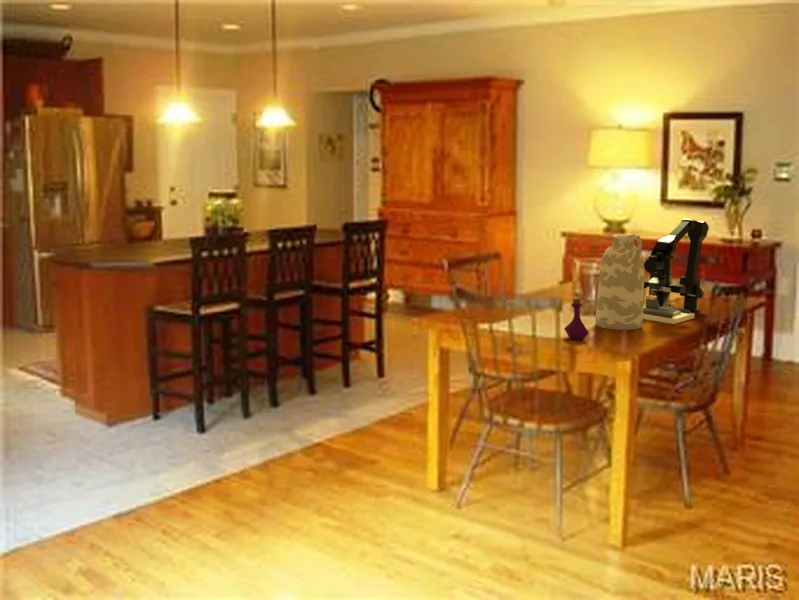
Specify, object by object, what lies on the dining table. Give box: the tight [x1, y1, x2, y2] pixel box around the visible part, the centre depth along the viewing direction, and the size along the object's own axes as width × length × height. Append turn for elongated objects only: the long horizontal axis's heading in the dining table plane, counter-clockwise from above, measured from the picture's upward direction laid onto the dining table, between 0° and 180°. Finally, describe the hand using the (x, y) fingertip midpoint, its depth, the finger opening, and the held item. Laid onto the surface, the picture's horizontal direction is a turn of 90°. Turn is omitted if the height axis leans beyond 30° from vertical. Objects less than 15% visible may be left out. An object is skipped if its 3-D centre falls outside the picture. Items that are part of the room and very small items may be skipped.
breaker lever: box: [644, 295, 659, 310], centre depth 392 cm, size 4×4×6 cm
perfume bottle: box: [563, 292, 589, 341], centre depth 345 cm, size 8×8×18 cm
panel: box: [643, 305, 696, 325], centre depth 390 cm, size 18×22×4 cm
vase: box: [595, 233, 645, 331], centre depth 367 cm, size 20×19×38 cm
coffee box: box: [648, 269, 673, 307], centre depth 417 cm, size 9×6×16 cm
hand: (661, 306), depth 389 cm, fingers closed
